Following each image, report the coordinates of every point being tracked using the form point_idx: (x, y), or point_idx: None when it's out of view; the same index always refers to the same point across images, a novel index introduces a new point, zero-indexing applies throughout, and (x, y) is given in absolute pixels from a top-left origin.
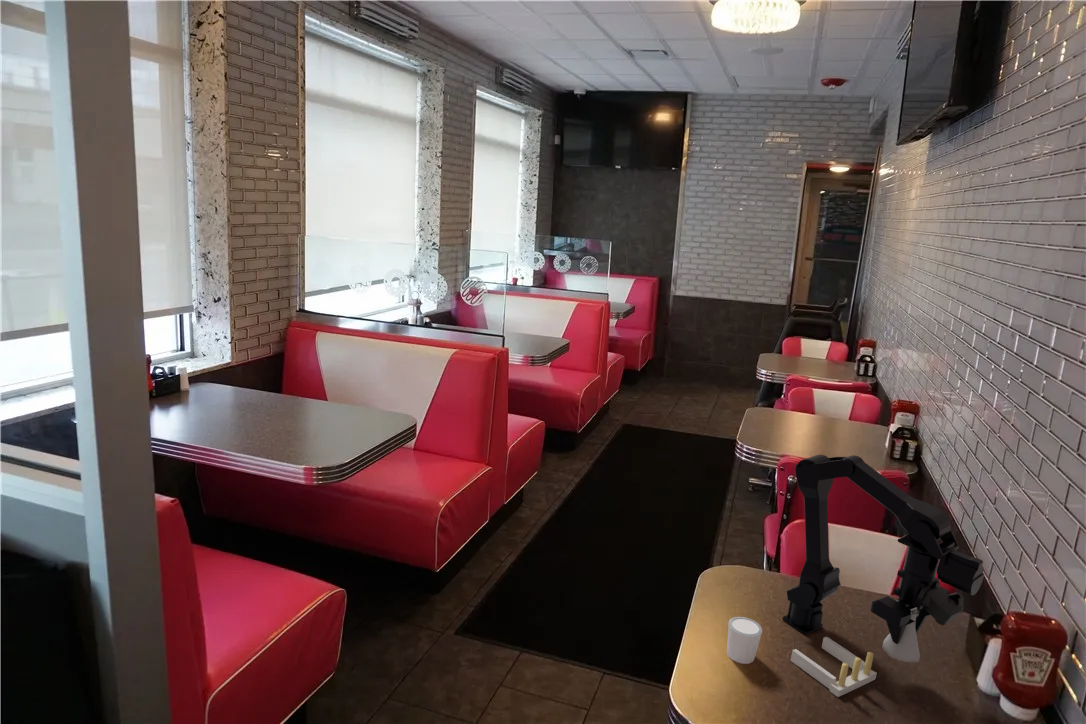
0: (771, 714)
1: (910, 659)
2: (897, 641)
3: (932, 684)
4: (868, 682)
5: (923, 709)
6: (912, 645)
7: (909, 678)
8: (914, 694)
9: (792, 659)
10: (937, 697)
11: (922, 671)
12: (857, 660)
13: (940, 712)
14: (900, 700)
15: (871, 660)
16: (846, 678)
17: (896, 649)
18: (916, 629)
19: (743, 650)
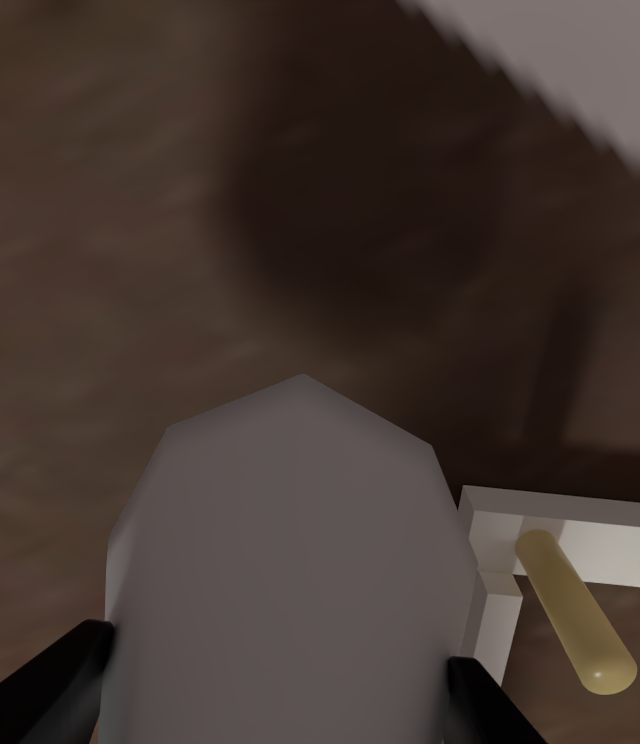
0: None
1: (382, 438)
2: (505, 696)
3: (153, 248)
4: (534, 493)
5: (498, 145)
6: (342, 548)
7: (243, 370)
8: (384, 267)
9: None
10: (264, 152)
11: (83, 358)
12: None
13: (421, 48)
14: (538, 290)
15: (598, 614)
16: None
17: (457, 598)
18: (47, 717)
19: None
